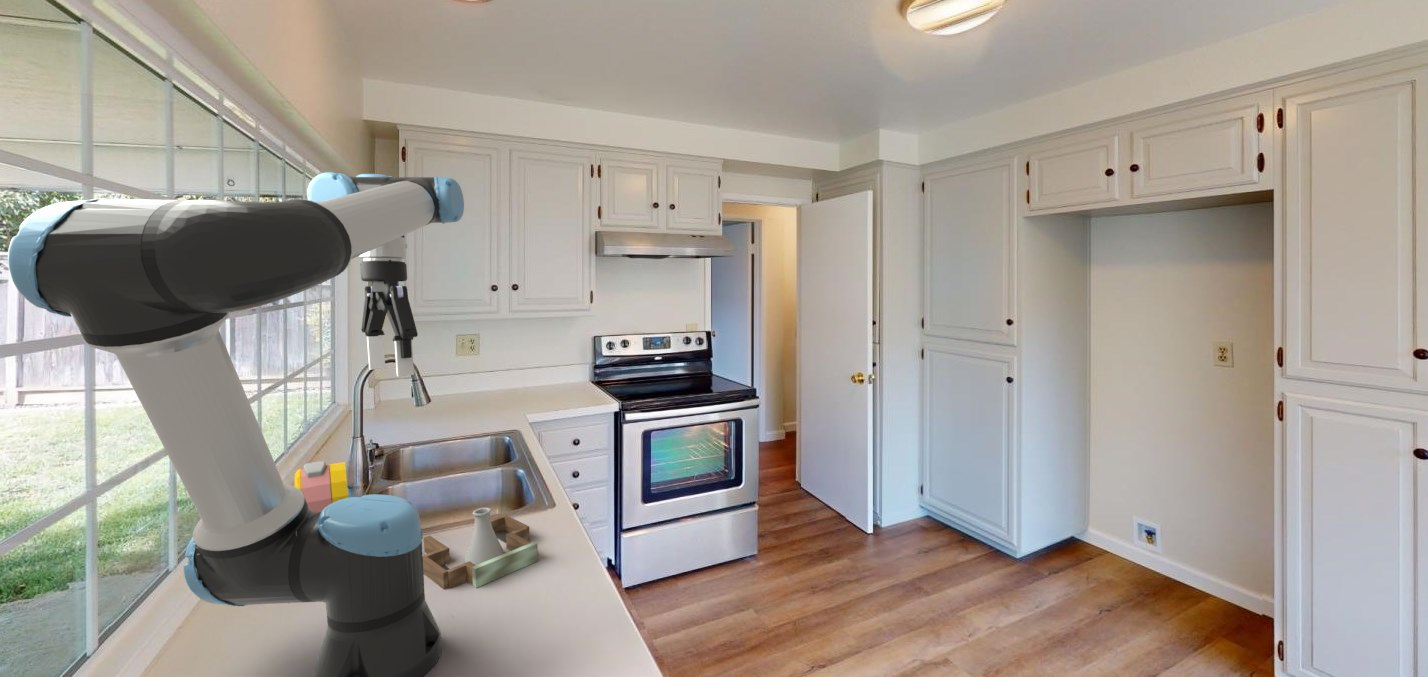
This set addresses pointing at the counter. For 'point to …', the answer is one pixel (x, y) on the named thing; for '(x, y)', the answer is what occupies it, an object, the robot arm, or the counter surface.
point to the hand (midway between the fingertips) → (390, 372)
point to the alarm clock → (322, 484)
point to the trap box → (487, 571)
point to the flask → (483, 539)
